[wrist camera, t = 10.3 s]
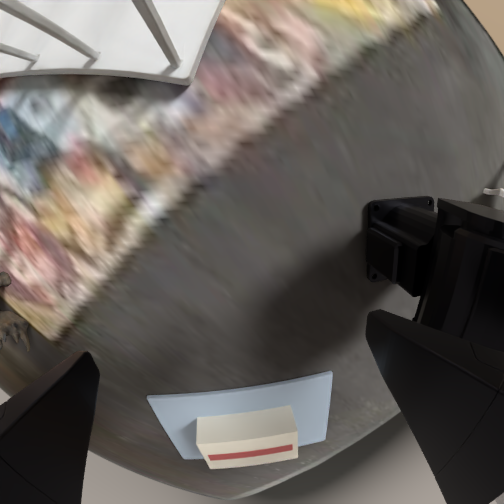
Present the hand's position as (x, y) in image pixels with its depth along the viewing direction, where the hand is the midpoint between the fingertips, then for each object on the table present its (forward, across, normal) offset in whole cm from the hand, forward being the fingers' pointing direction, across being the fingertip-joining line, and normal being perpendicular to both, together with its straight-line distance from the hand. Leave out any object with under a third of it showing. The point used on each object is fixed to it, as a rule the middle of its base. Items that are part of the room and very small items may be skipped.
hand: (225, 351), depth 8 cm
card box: (+12, +1, +21) cm, 24 cm away
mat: (+12, +1, +21) cm, 24 cm away
